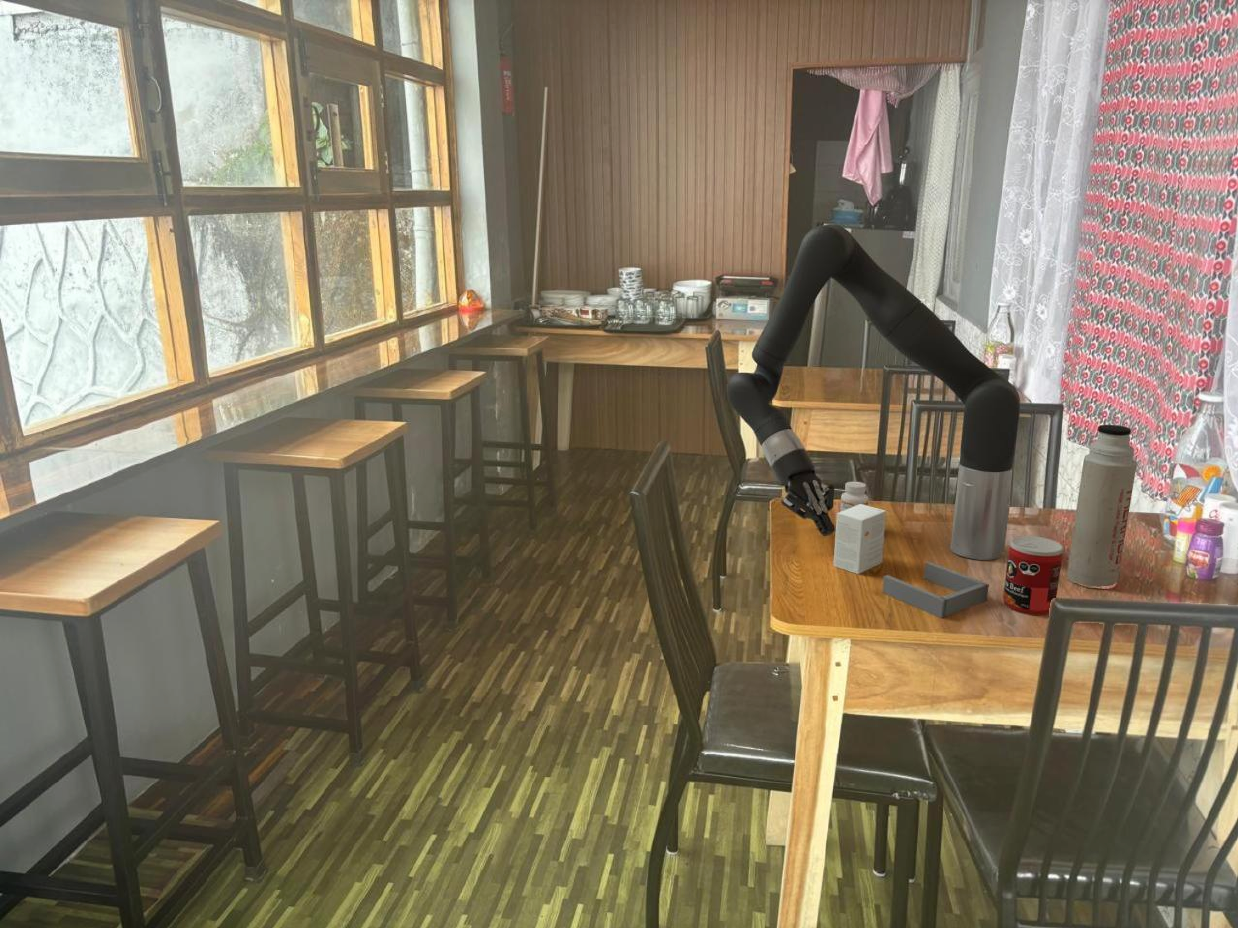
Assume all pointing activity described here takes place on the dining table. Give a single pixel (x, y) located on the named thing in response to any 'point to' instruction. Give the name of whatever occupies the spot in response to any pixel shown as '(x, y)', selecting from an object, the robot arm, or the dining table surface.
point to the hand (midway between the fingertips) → (829, 533)
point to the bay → (965, 596)
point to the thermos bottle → (1102, 508)
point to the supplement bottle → (853, 495)
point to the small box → (859, 538)
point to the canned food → (1032, 574)
